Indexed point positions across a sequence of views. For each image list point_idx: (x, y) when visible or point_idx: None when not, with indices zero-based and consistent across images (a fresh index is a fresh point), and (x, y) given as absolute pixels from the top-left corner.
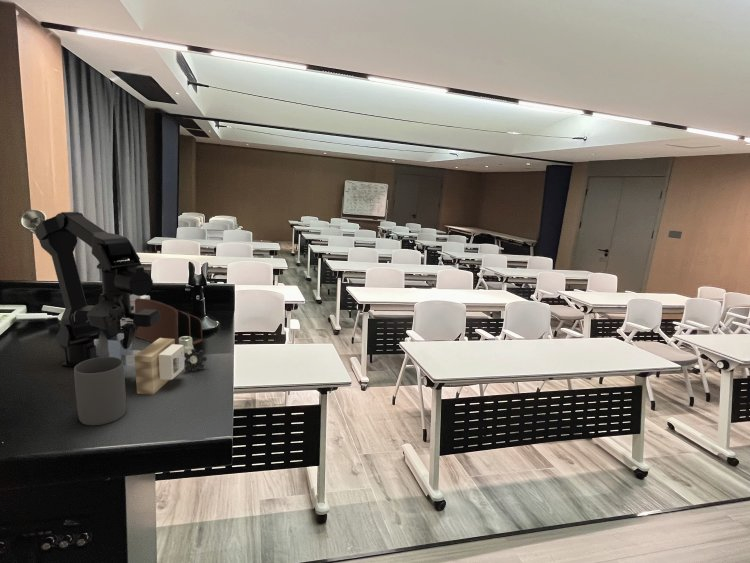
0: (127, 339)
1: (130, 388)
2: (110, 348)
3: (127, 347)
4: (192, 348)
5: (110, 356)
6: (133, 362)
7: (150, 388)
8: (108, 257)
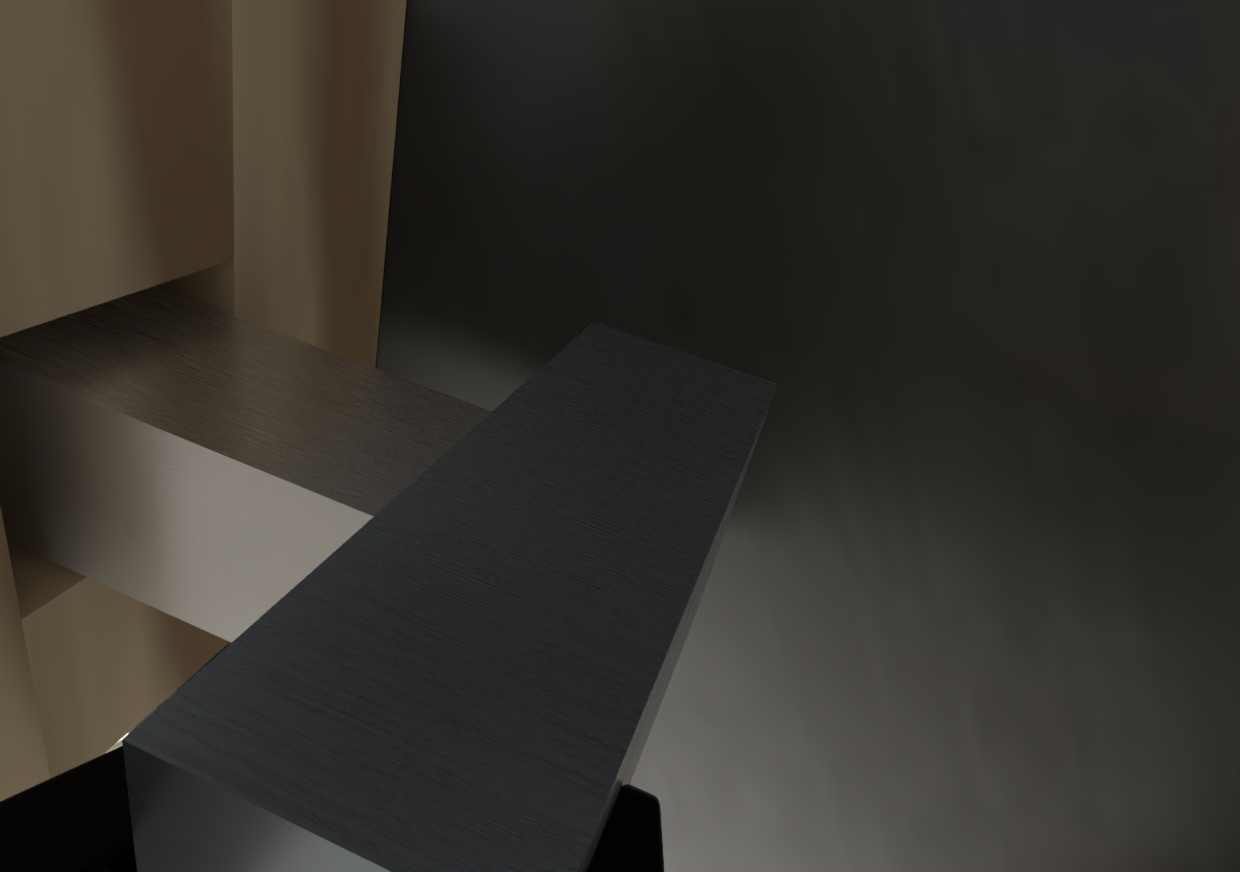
0: (30, 798)
1: (536, 172)
2: (590, 668)
3: None
4: None
5: (671, 533)
6: (339, 396)
7: None
8: None
